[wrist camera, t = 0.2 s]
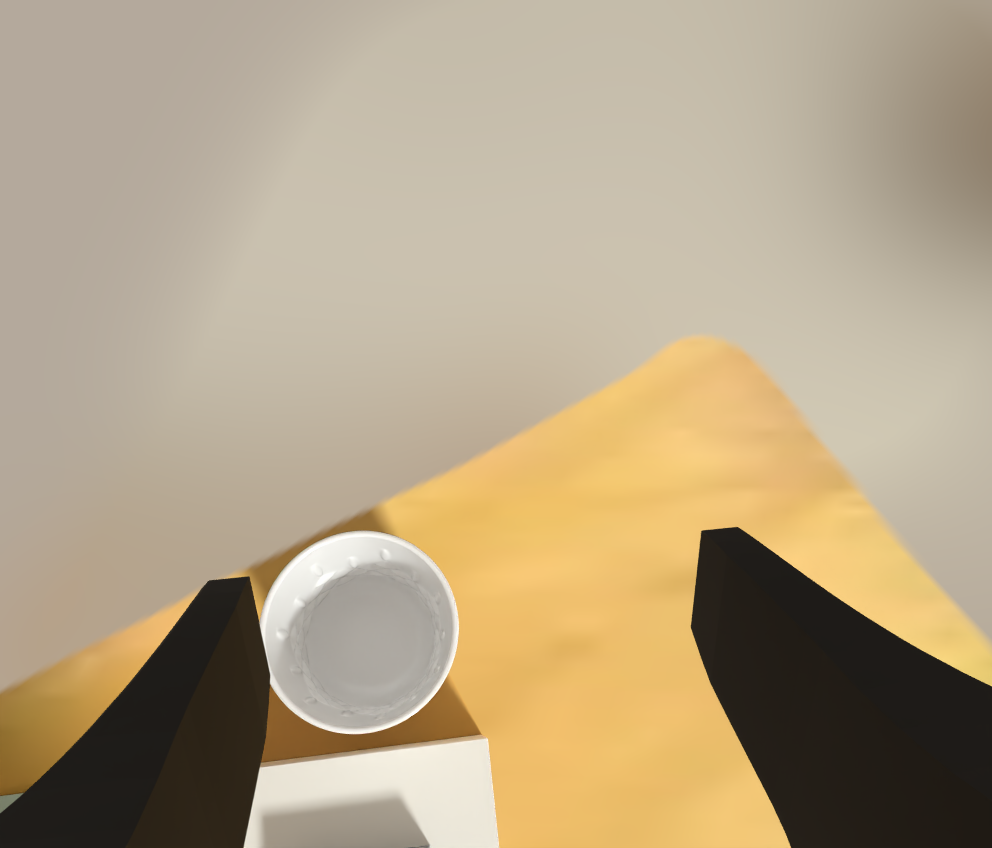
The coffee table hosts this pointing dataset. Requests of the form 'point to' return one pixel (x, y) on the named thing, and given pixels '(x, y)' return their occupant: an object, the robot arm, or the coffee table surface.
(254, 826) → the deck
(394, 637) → the white cup
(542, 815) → the coffee table surface
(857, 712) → the robot arm
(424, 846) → the gray rectangular block
